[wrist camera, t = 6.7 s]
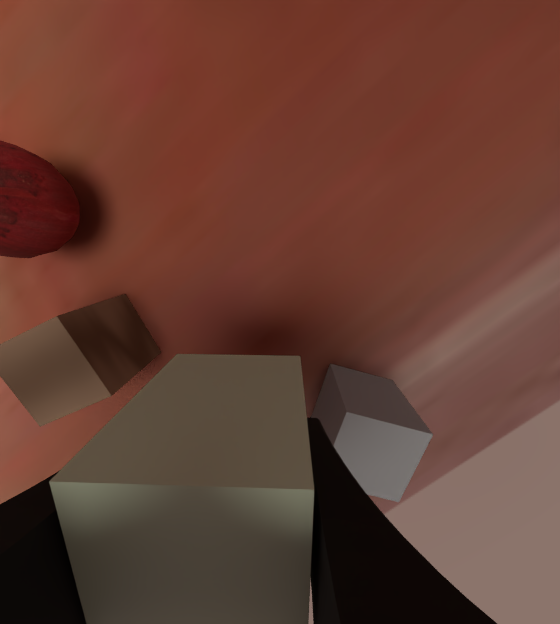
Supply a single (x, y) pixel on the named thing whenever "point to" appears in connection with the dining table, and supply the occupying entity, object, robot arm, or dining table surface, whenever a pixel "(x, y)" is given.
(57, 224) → the onion
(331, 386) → the slate block
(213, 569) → the sage block
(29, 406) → the walnut block
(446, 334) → the dining table surface
